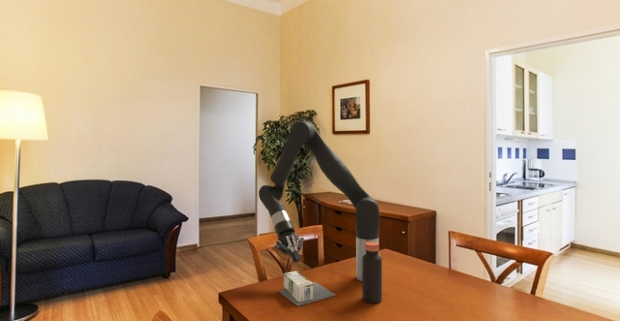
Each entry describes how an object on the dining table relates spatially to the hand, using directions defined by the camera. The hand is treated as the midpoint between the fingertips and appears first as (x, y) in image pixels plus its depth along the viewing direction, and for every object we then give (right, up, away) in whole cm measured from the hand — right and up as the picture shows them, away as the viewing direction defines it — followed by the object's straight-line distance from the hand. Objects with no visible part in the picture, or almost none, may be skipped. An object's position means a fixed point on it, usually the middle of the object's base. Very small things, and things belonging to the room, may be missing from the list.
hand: (297, 261), depth 129 cm
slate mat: (+4, -10, -6) cm, 12 cm away
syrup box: (-3, -7, 0) cm, 7 cm away
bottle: (+27, -10, -11) cm, 31 cm away
